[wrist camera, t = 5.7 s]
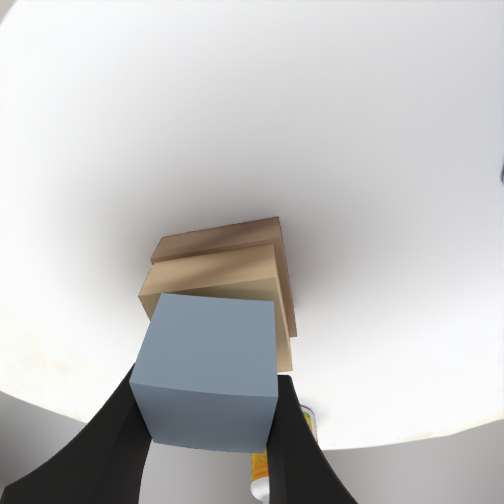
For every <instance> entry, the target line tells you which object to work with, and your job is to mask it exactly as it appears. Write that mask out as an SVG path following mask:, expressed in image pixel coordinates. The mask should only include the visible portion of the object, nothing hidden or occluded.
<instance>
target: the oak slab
mask: <svg viewBox="0 0 504 504" xmlns="http://www.w3.org/2000/svg"><path fill="white" fill-rule="evenodd" d="M161 293H167V294H178V295H189V296H201V297H214V298H228V299H243V300H259V301H274V314H275V334H276V355H277V373H278V372H286V371H293V370H292V358H291V347H290V336H289V329H288V324H287V318H286V312H285V306H284V301H283V295H282V289H281V284H280V278H279V273H278V267H277V262H276V256H275V251H274V245H273V243H272V244H266V245H259V246H253V247H247V248H241V249H235V250H228V251H222V252H216V253H210V254H204V255H197V256H191V257H185V258H179V259H173V260H167V261H161V262H155V263H154V264H153V266H152V268H151V270H150V272H149V274H148V276H147V278H146V280H145V282H144V284H143V286H142V288H141V291H140V293H139V295H138V297H139V299H140V301H141V303H142V305H143V307H144V309H145V311H146V313H147V315H148V317H149V319H150V321H151V319H152V316H153V314H154V311H155V309H156V306H157V303H158V301H159V298H160V296H161Z"/></svg>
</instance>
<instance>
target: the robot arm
mask: <svg viewBox="0 0 504 504" xmlns="http://www.w3.org/2000/svg"><path fill="white" fill-rule="evenodd" d="M503 182H504V177H503ZM135 363H136V362H135ZM135 363H134V364H133V366H132V367H131V369H130V370H129V372H128V373H127V375H126V376H125V378H124V379H123V380H122V382H121V383H120V384H119V386H118V387H117V389H116V390H115V391H114V393H113V394H112V395H111V396H110V398H109V399H108V400H107V401H106V403H105V404H104V405H103V407H102V408H101V409H100V410H99V411H98V413H97V414H96V415H95V416H94V417H93V418H92V419H91V421H90V422H89V423H88V424H87V425H86V426H85V427H84V428H83V429H82V430H81V431H80V432H79V433H78V434H77V435H76V437H74V438H73V439H72V440H71V441H70V442H69V443H68V444H67V445H66V446H65V447H64V448H63V449H61V450H60V451H59V452H58V453H57V454H55V455H54V456H53V457H52V458H50V459H49V460H48V461H47V462H45V463H44V464H42V465H41V466H39V467H38V468H37V469H35V470H34V471H32V472H31V473H29V474H28V475H26V476H24V477H22V478H21V479H19V480H17V481H15V482H13V483H12V484H10V485H8V486H6V487H5V489H4V491H3V493H2V497H1V500H0V504H138V501H139V493H140V486H141V478H142V474H143V469H144V465H145V461H146V458H147V454H148V451H149V447H150V443H151V440H152V437H151V435H150V433H149V430H148V428H147V426H146V423H145V421H144V419H143V416H142V414H141V412H140V409H139V407H138V404H137V402H136V399H135V397H134V394H133V391H132V389H131V386H130V383H129V380H130V377H131V374H132V372H133V369H134V366H135ZM277 378H278V400H277V404H276V408H275V412H274V416H273V420H272V424H271V428H270V432H269V436H268V440H267V444H266V453H267V464H268V476H269V504H358V503H357V502H356V501H355V499H354V498H353V497H352V496H351V495H350V493H349V492H348V491H347V489H346V488H345V487H344V486H343V484H342V483H341V481H340V480H339V478H338V477H337V476H336V474H335V472H334V471H333V469H332V468H331V466H330V465H329V463H328V461H327V460H326V458H325V456H324V455H323V453H322V451H321V449H320V447H319V445H318V444H317V442H316V440H315V438H314V436H313V434H312V432H311V429H310V427H309V425H308V423H307V421H306V419H305V416H304V414H303V411H302V409H301V406H300V404H299V401H298V398H297V395H296V392H295V389H294V386H293V382H292V378H291V377H290V376H289V375H277Z"/></svg>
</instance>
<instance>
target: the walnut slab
mask: <svg viewBox="0 0 504 504" xmlns="http://www.w3.org/2000/svg"><path fill="white" fill-rule="evenodd" d="M272 243H273V245H274V251H275V256H276V262H277V267H278V273H279V278H280V284H281V289H282V295H283V301H284V306H285V312H286V318H287V324H288V329H289V336H290V337H297V330H296V322H295V314H294V307H293V301H292V294H291V288H290V282H289V276H288V270H287V264H286V258H285V252H284V246H283V240H282V234H281V229H280V223H279V217H273V218H267V219H261V220H255V221H250V222H244V223H238V224H232V225H227V226H221V227H216V228H210V229H205V230H199V231H194V232H188V233H183V234H178V235H173V236H167V237H162V239H161V241H160V242H159V244H158V246H157V248H156V250H155V252H154V253H153V255H152V257H151V262H152V264H154V263H155V262H161V261H167V260H173V259H179V258H185V257H191V256H197V255H204V254H210V253H216V252H222V251H228V250H235V249H241V248H247V247H253V246H259V245H266V244H272Z"/></svg>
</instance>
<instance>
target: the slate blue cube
mask: <svg viewBox="0 0 504 504" xmlns="http://www.w3.org/2000/svg"><path fill="white" fill-rule="evenodd" d="M129 383H130V386H131V389H132V391H133V394H134V397H135V399H136V402H137V404H138V407H139V409H140V412H141V414H142V416H143V419H144V421H145V423H146V426H147V428H148V430H149V433H150V435H151V437H152V439H153V441H154V443H159V444H166V445H173V446H179V447H186V448H194V449H203V450H213V451H225V452H240V453H264V451H265V448H266V444H267V440H268V436H269V432H270V428H271V424H272V420H273V416H274V412H275V408H276V404H277V400H278V378H277V355H276V334H275V314H274V301H259V300H243V299H228V298H214V297H201V296H189V295H178V294H167V293H161V296H160V298H159V301H158V303H157V306H156V309H155V311H154V314H153V316H152V319H151V322H150V324H149V327H148V330H147V332H146V335H145V338H144V341H143V343H142V346H141V349H140V352H139V354H138V357H137V360H136V363H135V366H134V369H133V372H132V374H131V377H130V380H129Z"/></svg>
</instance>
